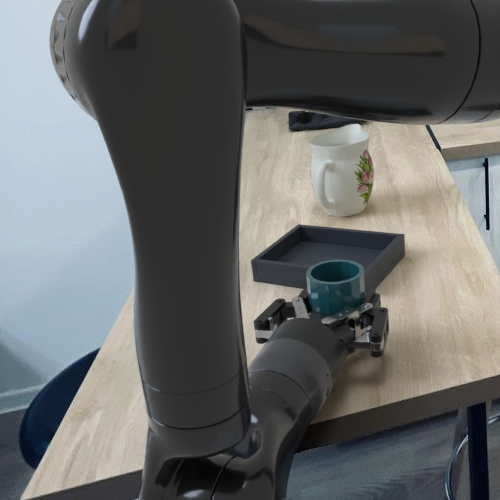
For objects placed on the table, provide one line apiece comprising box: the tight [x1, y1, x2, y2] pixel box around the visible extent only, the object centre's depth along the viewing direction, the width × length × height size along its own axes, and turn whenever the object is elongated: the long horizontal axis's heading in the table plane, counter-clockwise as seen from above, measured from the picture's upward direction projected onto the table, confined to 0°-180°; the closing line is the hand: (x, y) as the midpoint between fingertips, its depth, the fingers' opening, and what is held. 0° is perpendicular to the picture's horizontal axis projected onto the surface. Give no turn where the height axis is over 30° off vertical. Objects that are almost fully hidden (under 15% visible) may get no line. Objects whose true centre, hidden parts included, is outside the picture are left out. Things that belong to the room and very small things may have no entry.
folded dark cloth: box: [287, 110, 363, 132], centre depth 184 cm, size 15×22×5 cm
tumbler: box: [306, 259, 367, 336], centre depth 73 cm, size 6×6×10 cm
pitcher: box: [309, 123, 375, 218], centre depth 114 cm, size 11×18×14 cm, turn 151°
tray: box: [250, 223, 406, 294], centre depth 96 cm, size 18×15×3 cm
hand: (343, 294), depth 75 cm, fingers closed on tumbler, 6 cm apart
